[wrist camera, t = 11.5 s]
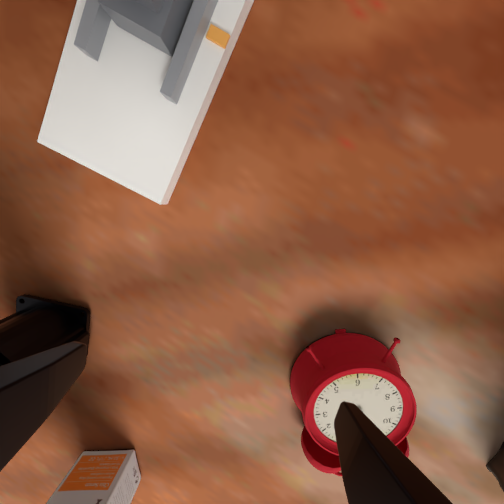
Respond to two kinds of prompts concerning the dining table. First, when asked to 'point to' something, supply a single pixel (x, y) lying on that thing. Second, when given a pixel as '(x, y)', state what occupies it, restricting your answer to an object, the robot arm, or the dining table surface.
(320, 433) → the alarm clock
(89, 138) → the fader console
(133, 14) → the fader tab
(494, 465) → the owl
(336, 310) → the dining table surface
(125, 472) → the skincare box
